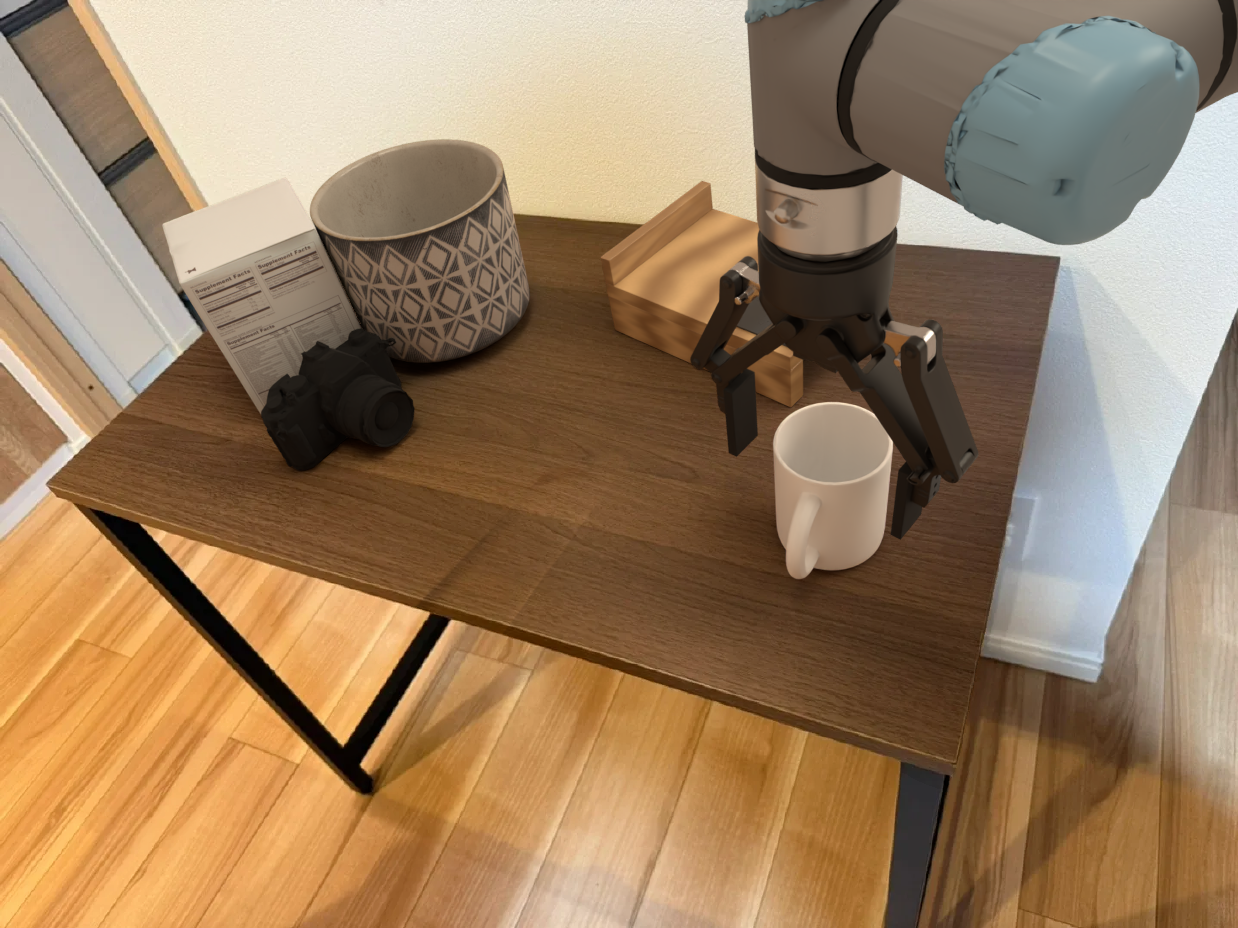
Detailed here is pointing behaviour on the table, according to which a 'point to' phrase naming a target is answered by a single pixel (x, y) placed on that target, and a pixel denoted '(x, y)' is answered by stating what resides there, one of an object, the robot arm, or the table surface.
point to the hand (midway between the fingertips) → (819, 482)
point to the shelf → (692, 286)
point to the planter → (426, 247)
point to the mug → (830, 486)
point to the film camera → (338, 401)
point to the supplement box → (260, 283)
